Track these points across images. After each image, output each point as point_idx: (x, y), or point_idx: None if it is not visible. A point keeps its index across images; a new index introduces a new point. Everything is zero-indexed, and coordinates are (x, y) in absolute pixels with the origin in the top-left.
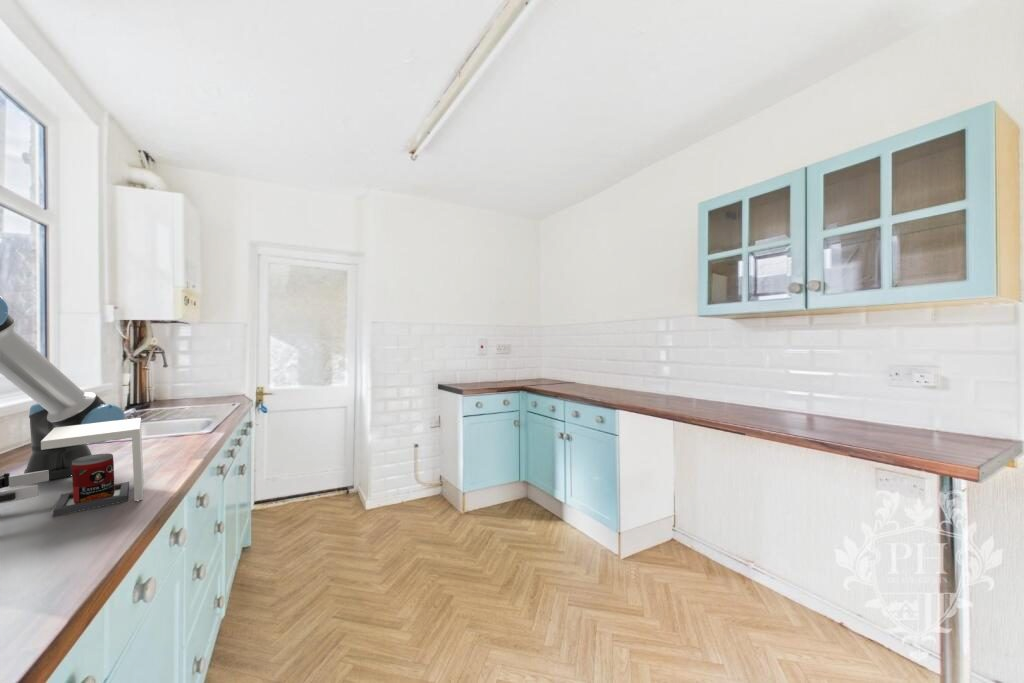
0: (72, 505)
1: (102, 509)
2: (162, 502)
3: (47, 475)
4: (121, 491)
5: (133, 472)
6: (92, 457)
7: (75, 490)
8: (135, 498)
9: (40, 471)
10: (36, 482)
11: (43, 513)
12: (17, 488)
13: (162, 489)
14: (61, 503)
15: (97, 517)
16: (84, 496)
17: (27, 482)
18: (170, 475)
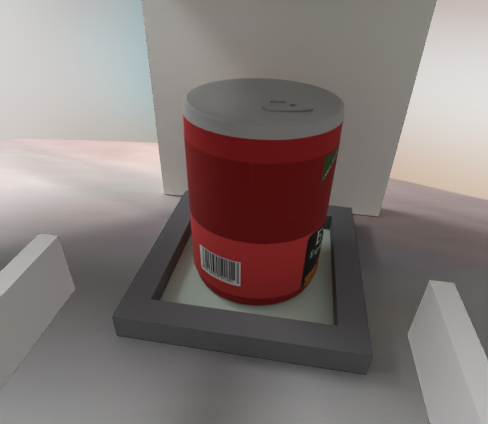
0: (351, 303)
1: (392, 266)
2: (427, 189)
3: (64, 263)
4: None
5: (403, 122)
6: (212, 103)
7: (291, 254)
8: (381, 205)
9: (25, 258)
10: (46, 327)
11: (276, 401)
12: (477, 367)
13: None
14: (279, 326)
15: (479, 281)
16: (315, 260)
17: (14, 357)
18: None
